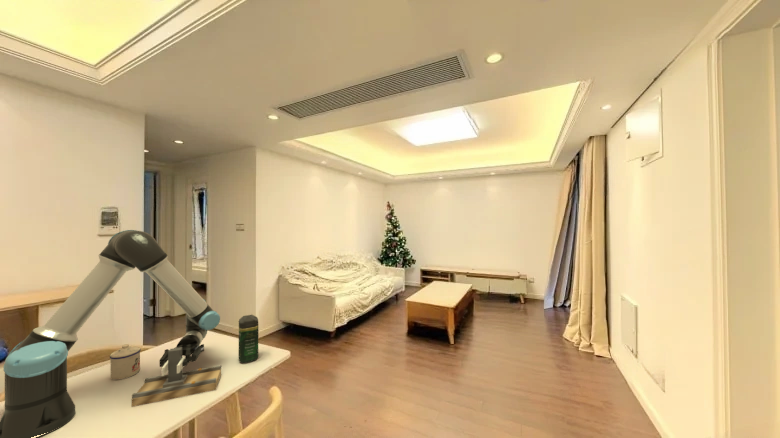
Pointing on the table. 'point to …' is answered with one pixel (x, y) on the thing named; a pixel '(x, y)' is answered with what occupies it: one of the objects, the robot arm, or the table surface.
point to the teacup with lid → (125, 362)
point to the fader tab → (174, 368)
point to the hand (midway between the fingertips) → (170, 370)
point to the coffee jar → (248, 338)
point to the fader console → (177, 386)
